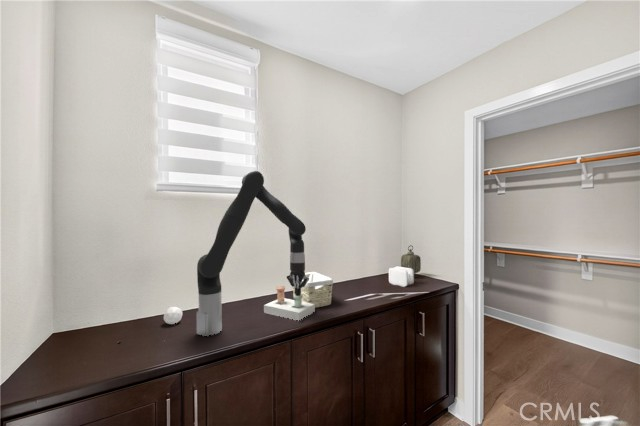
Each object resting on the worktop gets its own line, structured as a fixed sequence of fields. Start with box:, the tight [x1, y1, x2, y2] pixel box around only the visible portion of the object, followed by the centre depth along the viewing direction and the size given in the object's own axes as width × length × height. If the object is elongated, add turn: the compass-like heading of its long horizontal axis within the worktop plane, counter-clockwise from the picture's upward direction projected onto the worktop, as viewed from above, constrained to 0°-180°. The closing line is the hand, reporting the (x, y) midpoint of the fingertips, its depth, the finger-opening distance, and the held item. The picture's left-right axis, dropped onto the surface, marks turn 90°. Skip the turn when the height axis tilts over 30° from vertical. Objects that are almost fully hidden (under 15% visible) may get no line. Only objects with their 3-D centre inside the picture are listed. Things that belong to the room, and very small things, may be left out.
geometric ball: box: [163, 306, 183, 325], centre depth 125 cm, size 8×8×8 cm
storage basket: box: [292, 271, 334, 309], centre depth 154 cm, size 24×16×15 cm
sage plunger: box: [292, 294, 303, 309], centre depth 135 cm, size 5×5×7 cm
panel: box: [263, 297, 316, 322], centre depth 138 cm, size 14×22×4 cm, turn 59°
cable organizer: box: [388, 265, 415, 288], centre depth 189 cm, size 15×11×12 cm
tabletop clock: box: [400, 245, 422, 279], centre depth 209 cm, size 14×9×25 cm, turn 130°
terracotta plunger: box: [275, 285, 286, 302], centre depth 141 cm, size 5×5×7 cm
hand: (297, 295), depth 135 cm, fingers closed
